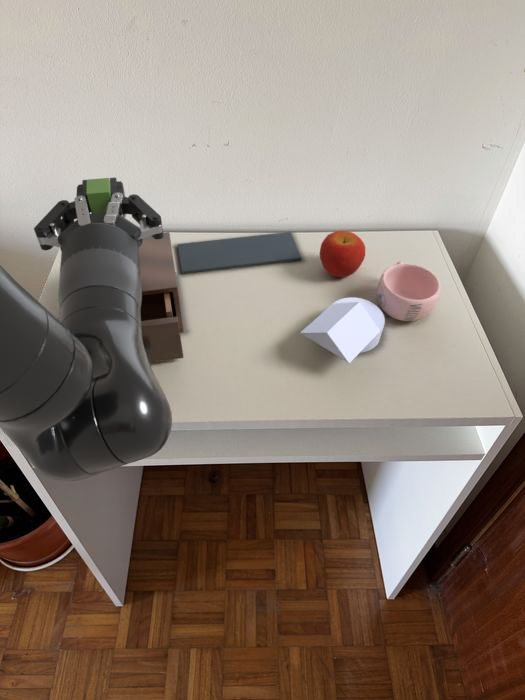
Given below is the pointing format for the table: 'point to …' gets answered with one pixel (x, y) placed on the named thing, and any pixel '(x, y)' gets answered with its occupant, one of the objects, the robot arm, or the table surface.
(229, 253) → the mat
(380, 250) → the table surface
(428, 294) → the mug
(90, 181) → the long green square beam
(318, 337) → the wedge on round base
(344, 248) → the apple
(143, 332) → the drawer
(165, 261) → the cabinet
